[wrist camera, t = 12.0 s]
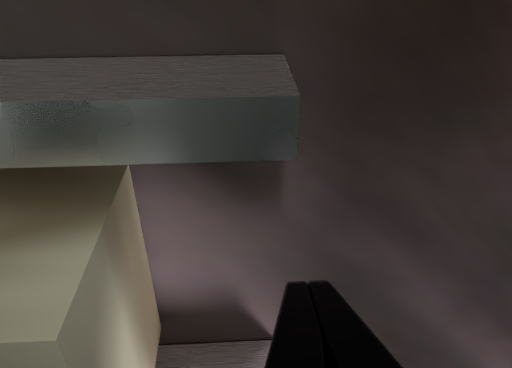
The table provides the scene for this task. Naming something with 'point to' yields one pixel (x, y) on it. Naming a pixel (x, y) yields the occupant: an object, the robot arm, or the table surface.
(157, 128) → the slide rails
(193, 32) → the table surface
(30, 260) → the slider
